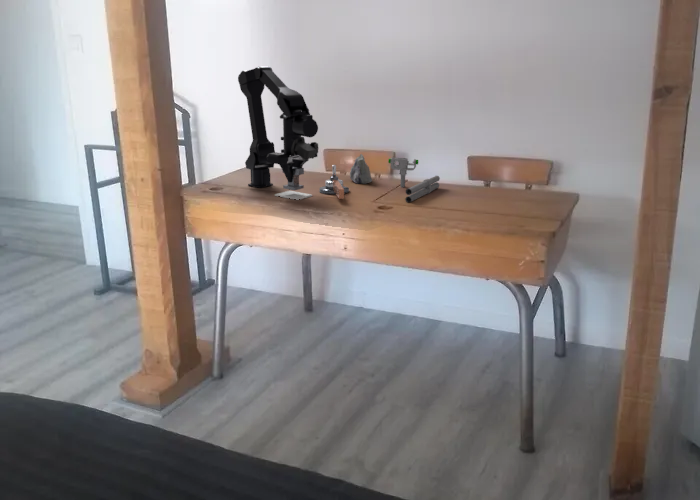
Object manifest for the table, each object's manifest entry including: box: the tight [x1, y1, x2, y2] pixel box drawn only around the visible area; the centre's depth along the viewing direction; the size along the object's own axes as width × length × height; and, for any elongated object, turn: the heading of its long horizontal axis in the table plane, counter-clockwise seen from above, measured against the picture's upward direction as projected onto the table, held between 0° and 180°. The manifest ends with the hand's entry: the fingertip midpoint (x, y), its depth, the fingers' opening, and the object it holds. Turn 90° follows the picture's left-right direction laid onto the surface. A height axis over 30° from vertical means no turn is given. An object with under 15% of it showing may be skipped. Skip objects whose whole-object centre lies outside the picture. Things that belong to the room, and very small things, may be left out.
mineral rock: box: [349, 153, 373, 185], centre depth 255 cm, size 13×11×10 cm
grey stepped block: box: [282, 166, 305, 191], centre depth 230 cm, size 7×4×7 cm, turn 53°
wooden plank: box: [324, 164, 345, 200], centre depth 230 cm, size 20×6×8 cm, turn 9°
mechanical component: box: [388, 157, 419, 188], centre depth 245 cm, size 3×10×10 cm, turn 79°
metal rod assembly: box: [404, 175, 441, 203], centre depth 234 cm, size 26×3×5 cm, turn 152°
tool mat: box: [274, 190, 313, 201], centre depth 231 cm, size 10×7×1 cm
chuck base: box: [318, 185, 350, 196], centre depth 238 cm, size 10×10×1 cm
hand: (293, 181), depth 230 cm, fingers closed on grey stepped block, 3 cm apart
